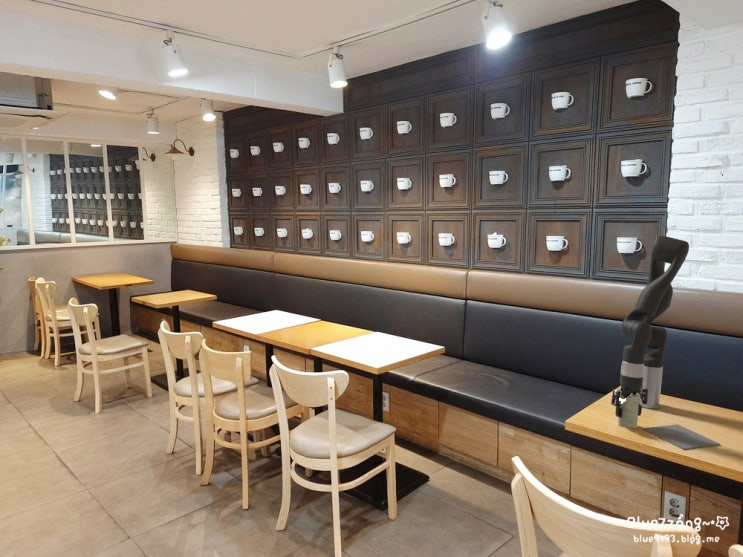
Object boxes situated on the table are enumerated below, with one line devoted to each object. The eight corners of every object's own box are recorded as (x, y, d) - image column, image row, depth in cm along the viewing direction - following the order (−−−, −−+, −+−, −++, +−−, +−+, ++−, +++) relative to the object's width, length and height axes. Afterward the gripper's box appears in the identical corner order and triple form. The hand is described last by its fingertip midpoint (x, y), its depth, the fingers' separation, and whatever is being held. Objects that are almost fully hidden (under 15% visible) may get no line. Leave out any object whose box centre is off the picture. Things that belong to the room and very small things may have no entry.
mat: (643, 429, 187) (643, 428, 187) (677, 425, 191) (677, 424, 191) (683, 449, 170) (683, 448, 170) (720, 445, 175) (720, 443, 175)
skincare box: (637, 425, 190) (640, 393, 189) (636, 429, 187) (639, 397, 185) (618, 421, 194) (621, 390, 192) (617, 425, 190) (620, 393, 188)
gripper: (639, 369, 193) (635, 410, 195) (608, 371, 189) (605, 413, 191) (655, 375, 186) (651, 418, 188) (624, 377, 182) (620, 421, 184)
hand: (628, 416), depth 190 cm, fingers open, 8 cm apart
